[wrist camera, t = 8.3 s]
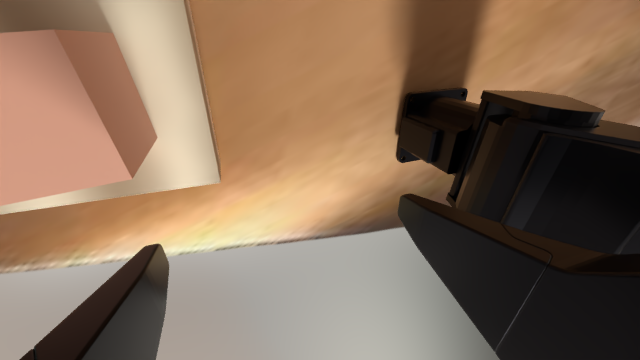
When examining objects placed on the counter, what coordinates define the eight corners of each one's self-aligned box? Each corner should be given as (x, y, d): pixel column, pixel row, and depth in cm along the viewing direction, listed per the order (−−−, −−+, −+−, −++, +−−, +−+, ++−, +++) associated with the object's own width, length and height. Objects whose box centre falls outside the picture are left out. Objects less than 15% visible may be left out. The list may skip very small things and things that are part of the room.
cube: (113, 33, 11) (53, 29, 7) (157, 137, 14) (132, 179, 10) (-31, 43, 10) (-201, 46, 6) (48, 156, 13) (-35, 213, 9)
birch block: (185, -20, 14) (175, -38, 11) (220, 158, 20) (220, 182, 16) (-92, -41, 11) (-224, -76, 8) (40, 179, 16) (-5, 215, 13)
